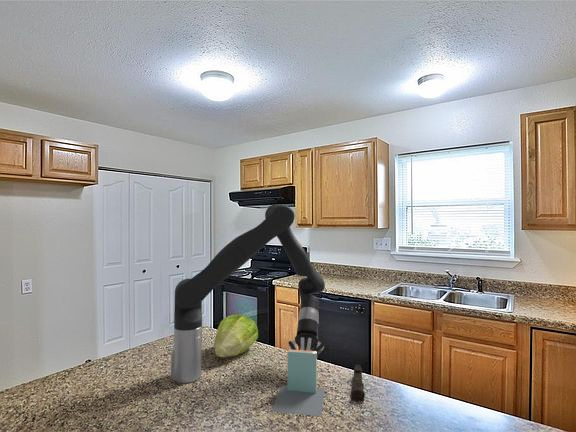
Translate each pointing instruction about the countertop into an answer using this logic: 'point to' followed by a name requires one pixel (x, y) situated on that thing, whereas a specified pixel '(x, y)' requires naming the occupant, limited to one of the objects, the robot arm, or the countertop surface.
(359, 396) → the hand tool
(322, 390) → the mat
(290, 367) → the tile
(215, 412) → the countertop surface
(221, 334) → the lettuce
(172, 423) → the countertop surface
